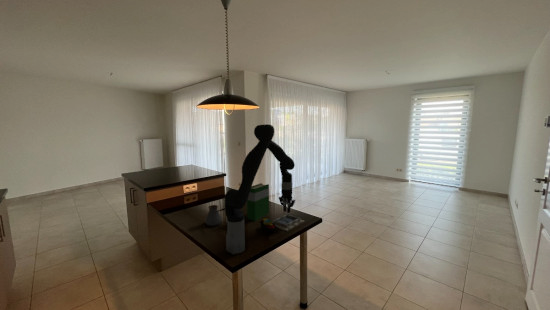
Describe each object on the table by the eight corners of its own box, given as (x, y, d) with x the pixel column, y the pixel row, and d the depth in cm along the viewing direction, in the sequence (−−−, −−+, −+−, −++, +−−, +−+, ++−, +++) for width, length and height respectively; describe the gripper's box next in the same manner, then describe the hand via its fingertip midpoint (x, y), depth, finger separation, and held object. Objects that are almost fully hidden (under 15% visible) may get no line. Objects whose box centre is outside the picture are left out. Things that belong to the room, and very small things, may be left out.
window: (287, 231, 140) (287, 226, 140) (268, 224, 151) (268, 220, 151) (304, 222, 155) (304, 218, 155) (286, 216, 166) (286, 212, 166)
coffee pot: (201, 225, 150) (200, 204, 149) (214, 219, 160) (214, 200, 159) (222, 233, 138) (222, 210, 137) (235, 226, 148) (235, 205, 146)
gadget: (269, 235, 135) (269, 227, 134) (259, 226, 146) (259, 218, 145) (277, 233, 139) (278, 225, 138) (267, 224, 150) (267, 216, 149)
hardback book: (261, 212, 175) (261, 183, 173) (269, 214, 171) (268, 184, 169) (247, 219, 160) (246, 187, 158) (255, 221, 156) (254, 189, 154)
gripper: (275, 187, 152) (275, 211, 154) (291, 190, 143) (291, 216, 145) (282, 185, 158) (282, 208, 160) (298, 188, 149) (298, 212, 151)
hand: (286, 212), depth 152 cm, fingers closed
